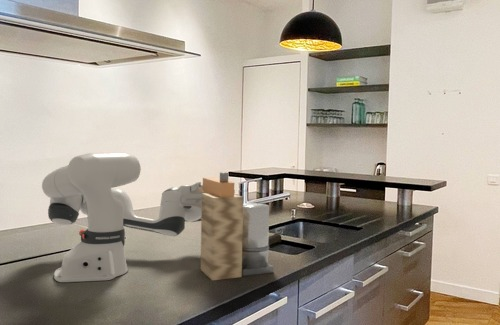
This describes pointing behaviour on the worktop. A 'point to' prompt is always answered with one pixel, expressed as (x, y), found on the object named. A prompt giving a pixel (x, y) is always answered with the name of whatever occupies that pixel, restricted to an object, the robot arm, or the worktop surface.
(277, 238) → the hand tool
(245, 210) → the motor housing
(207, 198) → the zigzag patterned pillar
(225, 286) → the worktop surface
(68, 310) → the worktop surface
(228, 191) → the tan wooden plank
